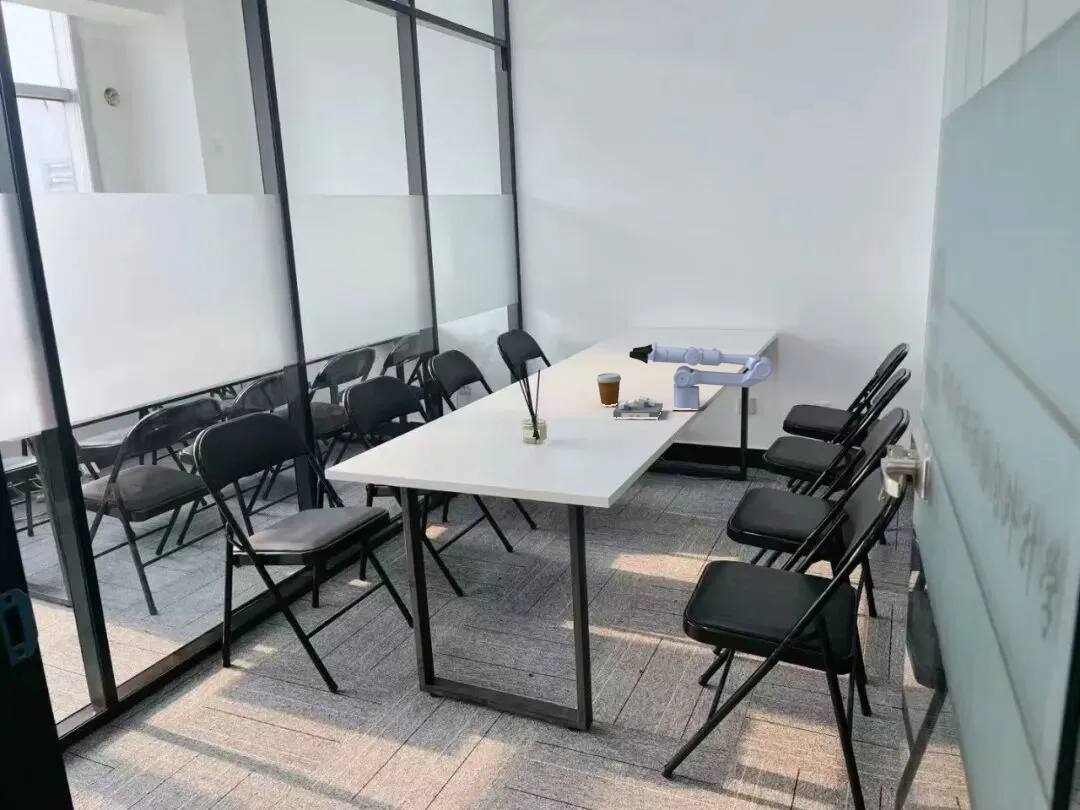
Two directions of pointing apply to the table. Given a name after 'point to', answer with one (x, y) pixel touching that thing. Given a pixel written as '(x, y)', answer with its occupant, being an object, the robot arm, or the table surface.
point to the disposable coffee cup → (609, 387)
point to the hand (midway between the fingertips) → (631, 352)
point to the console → (639, 410)
